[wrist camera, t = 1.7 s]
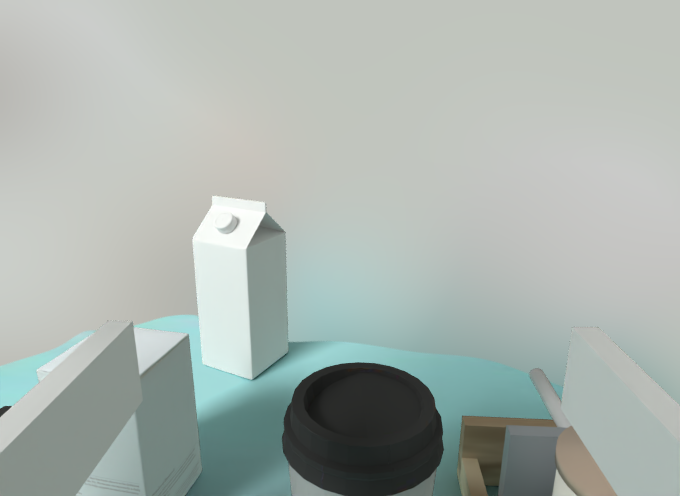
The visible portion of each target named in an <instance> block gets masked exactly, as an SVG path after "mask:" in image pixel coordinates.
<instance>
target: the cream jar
mask: <svg viewBox="0 0 680 496" xmlns="http://www.w3.org/2000/svg"><path fill="white" fill-rule="evenodd" d="M555 464H556V468H557V469H556V475H555V481H554V487H553V493H552V496H617V494H616V493H615V491H614V490H613V488H612V487H611V485H610V483H609V482H608V480H607V479H606V477H605V476H604V474H603V473H602V471H601V470H600V468H599V467H598V465H597V463H596V462H595V460H594V459H593V457H592V456H591V454H590V453H589V451H588V450H587V448H586V447H585V445H584V444H583V442H582V440H581V439H580V437H579V436H578V434H577V433H576V431H575V430H574V428H573V427H572V426H570V427H568V428H566V429H565V430H564V431H563V432H562V433H561V434H560V435H559V437H558V440H557V445H556V451H555Z"/></svg>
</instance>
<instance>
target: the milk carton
mask: <svg viewBox="0 0 680 496" xmlns="http://www.w3.org/2000/svg"><path fill="white" fill-rule="evenodd" d="M285 233H286V232H285V231H284V230H283V229H282V228H281V227H280V226H279V225H278V224H277V223H276V222H275V221H274V220H273V219H272V218H271V217H270V216H269V215H268V214H267V212H266V202H260V201H252V200H245V199H237V198H230V197H222V196H214V195H213V196H212V207H211V208H210V210H209V212H208V213H207V215H206V217H205V218H204V220H203V222H202V223H201V225H200V227H199V228H198V230H197V231H196V234H195V235H194V236H193V253H194V265H195V277H196V290H197V302H198V314H199V326H200V339H201V351H202V362H203V364H204V365H207V366H210V367H213V368H216V369H219V370H222V371H225V372H228V373H231V374H234V375H238V376H241V377H244V378H247V379H250V380H252V379H254V378H255V377H256V376H258V375H259V374H260V373H262V372H263V371H264V370H266V369H267V368H268V367H269V366H271V365H272V364H273V363H275V362H276V361H277V360H278V359H280V358H281V357H282V356H284V355H285V354H286V353H287V352H288V321H287V320H288V317H287V276H286V240H285V239H286V238H285Z"/></svg>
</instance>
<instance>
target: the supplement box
mask: <svg viewBox="0 0 680 496" xmlns="http://www.w3.org/2000/svg"><path fill="white" fill-rule="evenodd" d="M94 333H95V332H94ZM91 335H92V334H91ZM91 335H90V336H91ZM134 335H135V343H136V351H137V358H138V366H139V374H140V382H141V389H142V397H143V401H142V402H141V404H140V405H139V407H138V408H137V409H136V411H135V412H134V414H133V415H132V416H131V418H130V419H129V421H128V422H127V424H126V425H125V426H124V428H123V429H122V431H121V432H120V433H119V435H118V436H117V438H116V439H115V441H114V442H113V443H112V445H111V446H110V448H109V449H108V450H107V452H106V453H105V455H104V456H103V458H102V459H101V460H100V462H99V463H98V465H97V466H96V467H95V469H94V470H93V472H92V473H91V475H90V476H89V477H88V479H87V480H86V482H85V483H84V484H83V486H82V487H81V489H80V490H79V492H78V493H77V494H76V496H185V495H186V494H187V492H188V491H189V490H190V488H191V487H192V485H193V484H194V483H195V481H196V480H197V478H198V477H199V475H200V473H201V472H202V463H201V454H200V444H199V433H198V423H197V413H196V403H195V392H194V382H193V373H192V362H191V353H190V342H189V334H187V333H178V332H169V331H161V330H152V329H144V328H136V327H134ZM90 336H88V337H87V338H85V339H83V340H82V341H80V342H79V343H77V344H76V345H74V346H73V347H71V348H70V349H68V350H67V351H65V352H64V353H62V354H61V355H59V356H57V357H56V358H54V359H53V360H51V361H50V362H48V363H47V364H45V365H44V366H42V367H40V368H38V369H37V376H38V380H39V382H40V381H41V380H42V379H43V378H44V377H46V376H47V375H48V374H49V373H50V372H51V371H52V370H53V369H54V368H56V367H57V366H58V365H59V364H60V363H61V362H62V361H63V360H65V359H66V358H67V357H68V356H69V355H70V354H71V353H72V352H73V351H75V350H76V349H77V348H78V347H79V346H80V345H81V344H82V343H83V342H85V341H86V340H87V339H88V338H89V337H90Z"/></svg>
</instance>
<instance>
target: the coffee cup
mask: <svg viewBox="0 0 680 496" xmlns="http://www.w3.org/2000/svg"><path fill="white" fill-rule="evenodd" d="M442 435H443V428H442V422H441V416H440V414H439V413H438V411H437V409H436V407H435V400H434V397H433V395H432V394H431V392H430V390H429V388H428V387H427V386H426V385H424V384H423V383H422V382H421V381H420V380H419V379H418V378H416V377H414V376H412V375H410V374H409V373H407V372H405V371H402V370H399V369H396V368H394V367H391V366H386V365H381V364H375V363H359V362H358V363H345V364H339V365H334V366H330V367H326V368H324V369H321V370H319V371H316V372H314V373H312V374H311V375H310V376H308V377H307V378H305V379H304V380H302V382H301V383H300V384H299V385H298V386H297V388H296V389H295V391H294V394H293V397H292V402H291V403H290V405H289V406H288V408H287V411H286V414H285V417H284V433H283V436H282V442H283V452H284V454H285V456H286V458H287V460H288V463H289V473H290V483H291V492H292V496H432V494H433V488H434V482H435V476H436V469H437V467H438V466H439V464H440V462H441V458H442V454H443V451H444V448H443V441H442Z"/></svg>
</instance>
